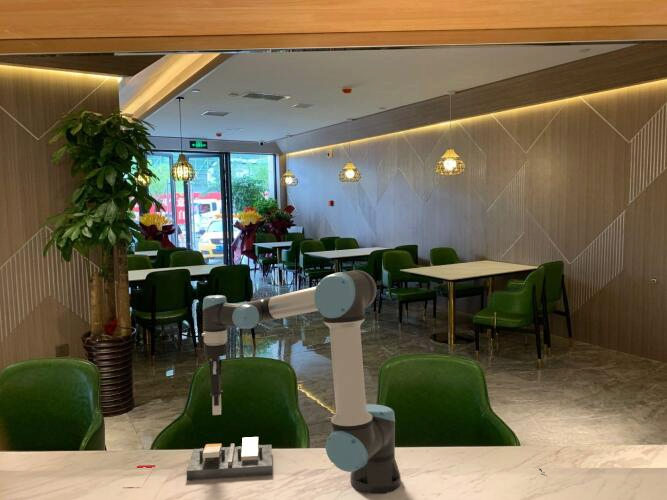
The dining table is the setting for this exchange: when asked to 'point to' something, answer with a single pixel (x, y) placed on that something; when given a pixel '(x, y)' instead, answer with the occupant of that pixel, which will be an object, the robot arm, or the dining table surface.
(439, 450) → the dining table surface
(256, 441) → the breaker right
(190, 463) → the breaker box
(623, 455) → the dining table surface
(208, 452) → the breaker left
